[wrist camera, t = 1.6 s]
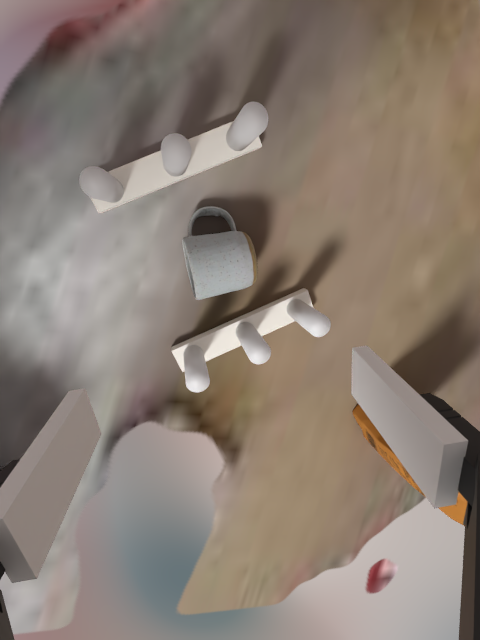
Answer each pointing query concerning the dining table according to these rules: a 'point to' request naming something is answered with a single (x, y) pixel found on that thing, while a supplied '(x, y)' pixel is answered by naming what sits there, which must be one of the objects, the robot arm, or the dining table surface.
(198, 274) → the ceramic mug
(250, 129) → the rack
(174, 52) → the dining table surface
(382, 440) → the coffee package
